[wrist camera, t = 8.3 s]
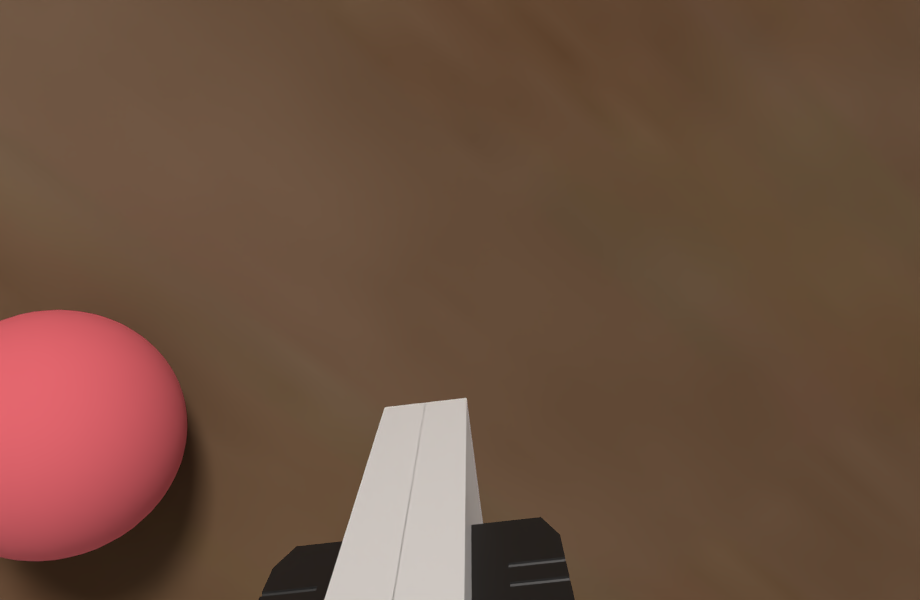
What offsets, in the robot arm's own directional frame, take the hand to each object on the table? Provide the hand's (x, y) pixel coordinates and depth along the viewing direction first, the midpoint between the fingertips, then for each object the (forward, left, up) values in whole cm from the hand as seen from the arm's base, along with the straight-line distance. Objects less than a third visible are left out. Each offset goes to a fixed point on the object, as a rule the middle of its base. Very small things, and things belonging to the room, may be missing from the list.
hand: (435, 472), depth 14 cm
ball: (+9, 0, -5) cm, 11 cm away
